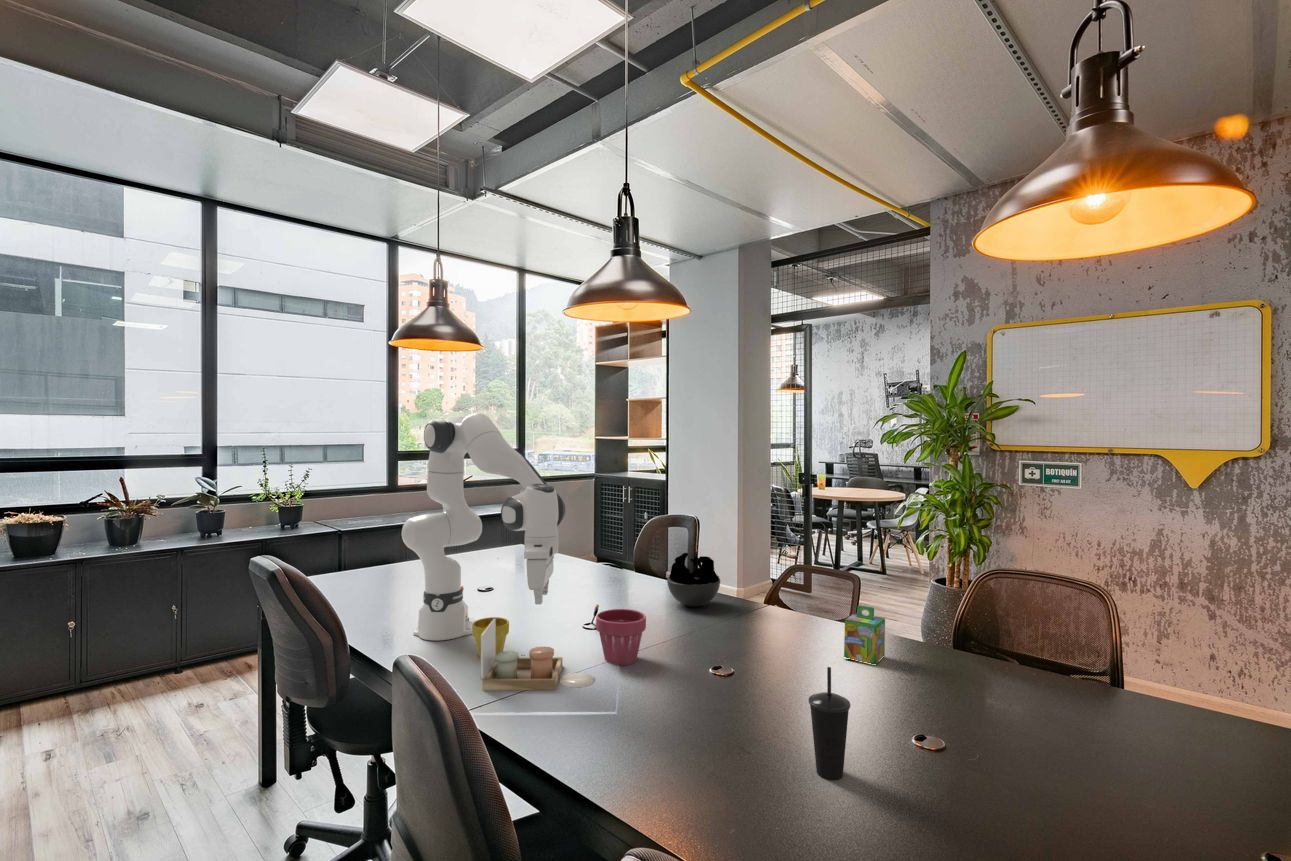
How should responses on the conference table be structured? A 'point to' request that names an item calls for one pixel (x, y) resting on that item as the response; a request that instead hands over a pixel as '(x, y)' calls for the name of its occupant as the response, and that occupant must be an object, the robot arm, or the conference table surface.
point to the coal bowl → (693, 581)
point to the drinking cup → (829, 731)
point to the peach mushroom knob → (541, 662)
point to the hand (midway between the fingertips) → (541, 598)
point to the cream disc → (577, 680)
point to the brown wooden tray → (522, 677)
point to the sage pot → (507, 664)
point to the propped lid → (488, 649)
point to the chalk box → (864, 636)
